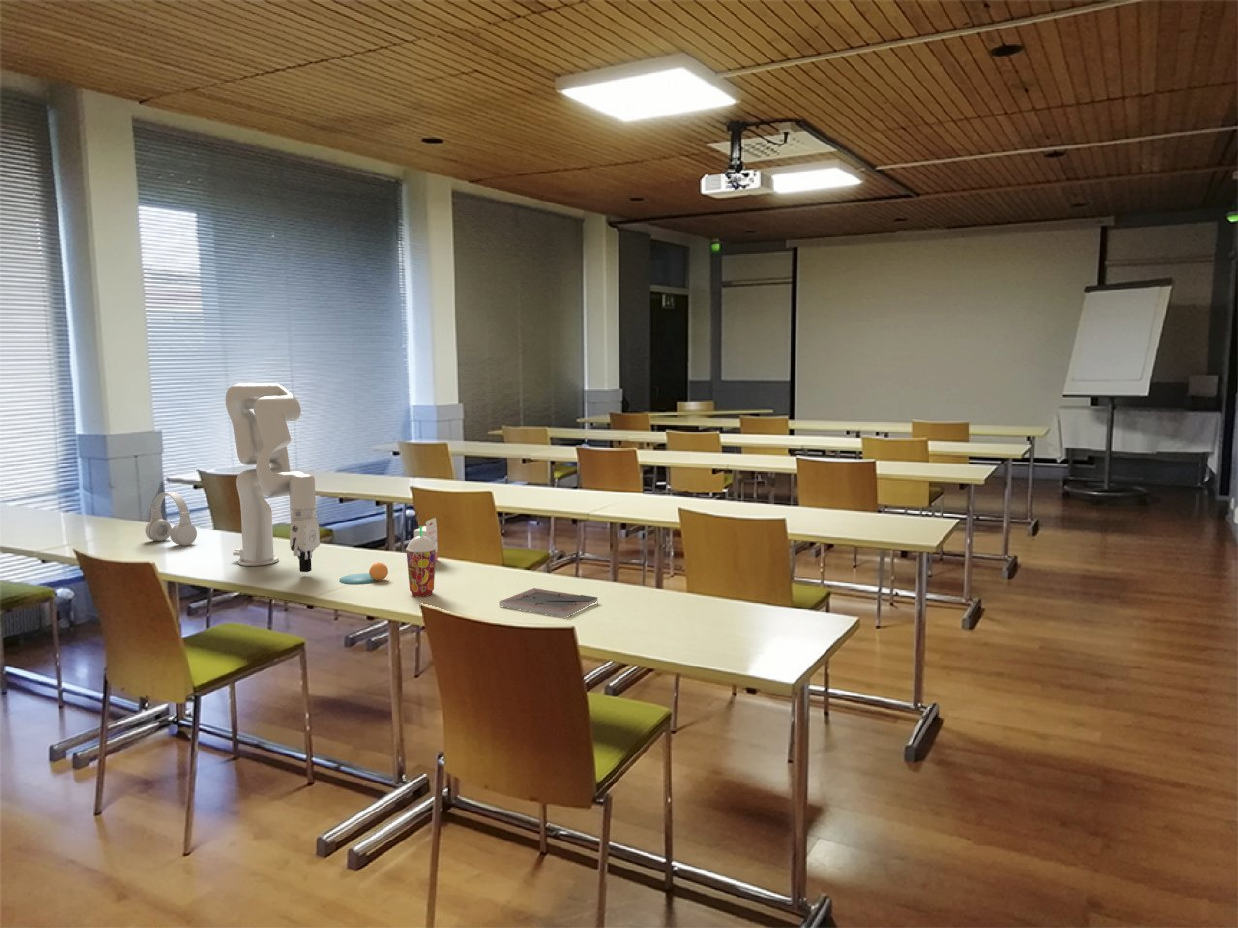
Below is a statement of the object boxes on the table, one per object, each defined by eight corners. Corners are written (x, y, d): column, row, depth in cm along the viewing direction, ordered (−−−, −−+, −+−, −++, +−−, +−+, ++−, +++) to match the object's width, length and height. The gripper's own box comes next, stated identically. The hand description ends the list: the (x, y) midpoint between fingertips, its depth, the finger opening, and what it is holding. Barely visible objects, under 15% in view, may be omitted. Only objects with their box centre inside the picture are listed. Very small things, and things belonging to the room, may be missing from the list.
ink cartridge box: (424, 559, 291) (423, 517, 289) (438, 559, 290) (437, 517, 288) (413, 564, 282) (412, 521, 281) (427, 565, 281) (426, 521, 280)
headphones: (144, 542, 317) (141, 491, 315) (166, 538, 324) (163, 488, 322) (177, 548, 307) (174, 495, 305) (198, 544, 315) (196, 492, 312)
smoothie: (405, 592, 247) (403, 524, 245) (433, 589, 250) (432, 522, 248) (409, 599, 239) (408, 529, 237) (439, 596, 243) (438, 527, 240)
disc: (331, 582, 257) (331, 582, 257) (352, 573, 270) (352, 572, 270) (370, 585, 255) (370, 584, 255) (390, 575, 267) (390, 574, 267)
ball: (385, 571, 257) (376, 585, 258) (394, 567, 262) (385, 581, 263) (371, 561, 258) (362, 575, 259) (380, 557, 263) (371, 571, 264)
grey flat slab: (597, 605, 236) (533, 595, 247) (597, 597, 236) (533, 587, 246) (565, 620, 222) (499, 609, 232) (565, 611, 222) (499, 600, 232)
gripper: (300, 518, 256) (303, 577, 258) (327, 510, 270) (328, 566, 272) (278, 517, 257) (280, 576, 259) (305, 509, 272) (307, 565, 274)
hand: (305, 571), depth 266 cm, fingers closed
